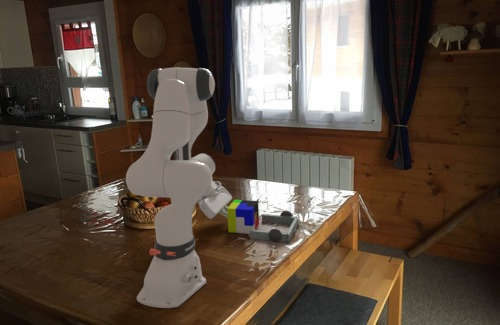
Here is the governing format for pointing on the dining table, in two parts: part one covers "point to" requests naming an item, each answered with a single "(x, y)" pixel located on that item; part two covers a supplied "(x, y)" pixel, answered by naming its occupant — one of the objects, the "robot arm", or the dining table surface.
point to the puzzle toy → (243, 216)
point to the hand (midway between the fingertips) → (230, 216)
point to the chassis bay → (275, 233)
